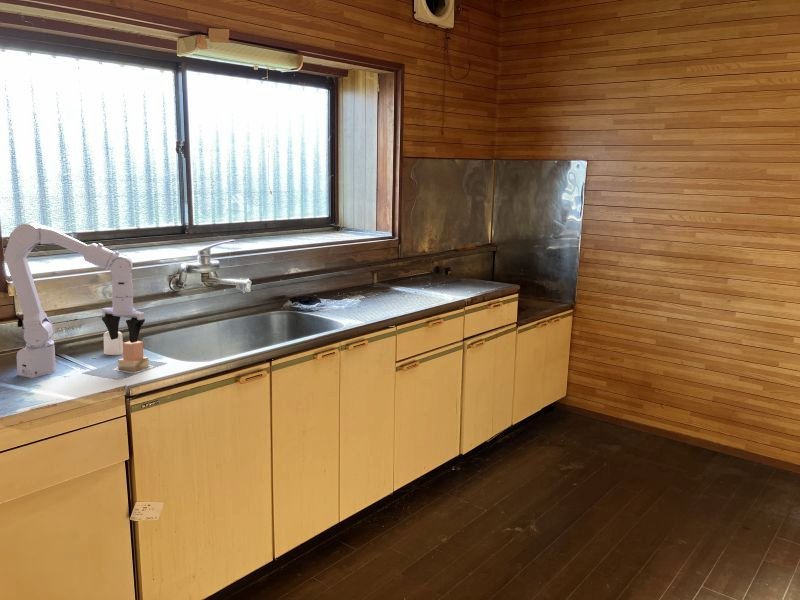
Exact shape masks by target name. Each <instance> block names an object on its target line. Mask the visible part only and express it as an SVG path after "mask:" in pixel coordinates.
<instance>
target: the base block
mask: <svg viewBox="0 0 800 600" xmlns="http://www.w3.org/2000/svg"><path fill="white" fill-rule="evenodd" d="M149 360H150V359H149V357H148V356H143V358H141V359H138V360H135V361H131V360H125V359H123V357H121V358H118V359H117V362H118V369H120V370H126V371H132V372H135V371H138V370H141V369H144V368H147V367H149Z"/></svg>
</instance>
